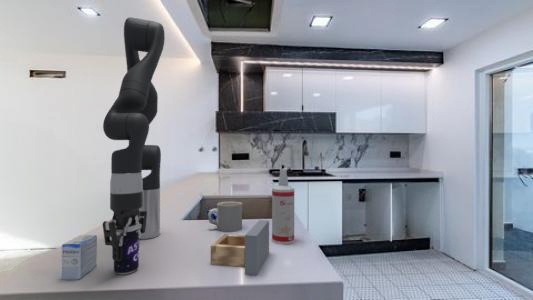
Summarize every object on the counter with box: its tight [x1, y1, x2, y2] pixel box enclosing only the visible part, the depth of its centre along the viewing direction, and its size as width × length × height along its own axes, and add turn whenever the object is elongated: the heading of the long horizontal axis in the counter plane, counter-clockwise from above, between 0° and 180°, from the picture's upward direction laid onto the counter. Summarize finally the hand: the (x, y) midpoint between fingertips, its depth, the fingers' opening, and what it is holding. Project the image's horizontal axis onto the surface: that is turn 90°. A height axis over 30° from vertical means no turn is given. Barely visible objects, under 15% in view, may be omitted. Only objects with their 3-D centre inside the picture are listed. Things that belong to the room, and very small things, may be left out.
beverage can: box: [113, 224, 140, 276], centre depth 73 cm, size 6×6×12 cm
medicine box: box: [61, 234, 98, 281], centre depth 73 cm, size 8×4×9 cm, turn 5°
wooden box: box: [210, 233, 246, 268], centre depth 82 cm, size 11×11×5 cm
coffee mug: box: [207, 201, 243, 233], centre depth 114 cm, size 13×10×10 cm
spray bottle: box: [271, 168, 295, 246], centre depth 98 cm, size 8×8×25 cm
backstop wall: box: [244, 219, 270, 277], centre depth 79 cm, size 3×16×10 cm, turn 168°
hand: (126, 255), depth 73 cm, fingers closed on beverage can, 5 cm apart
